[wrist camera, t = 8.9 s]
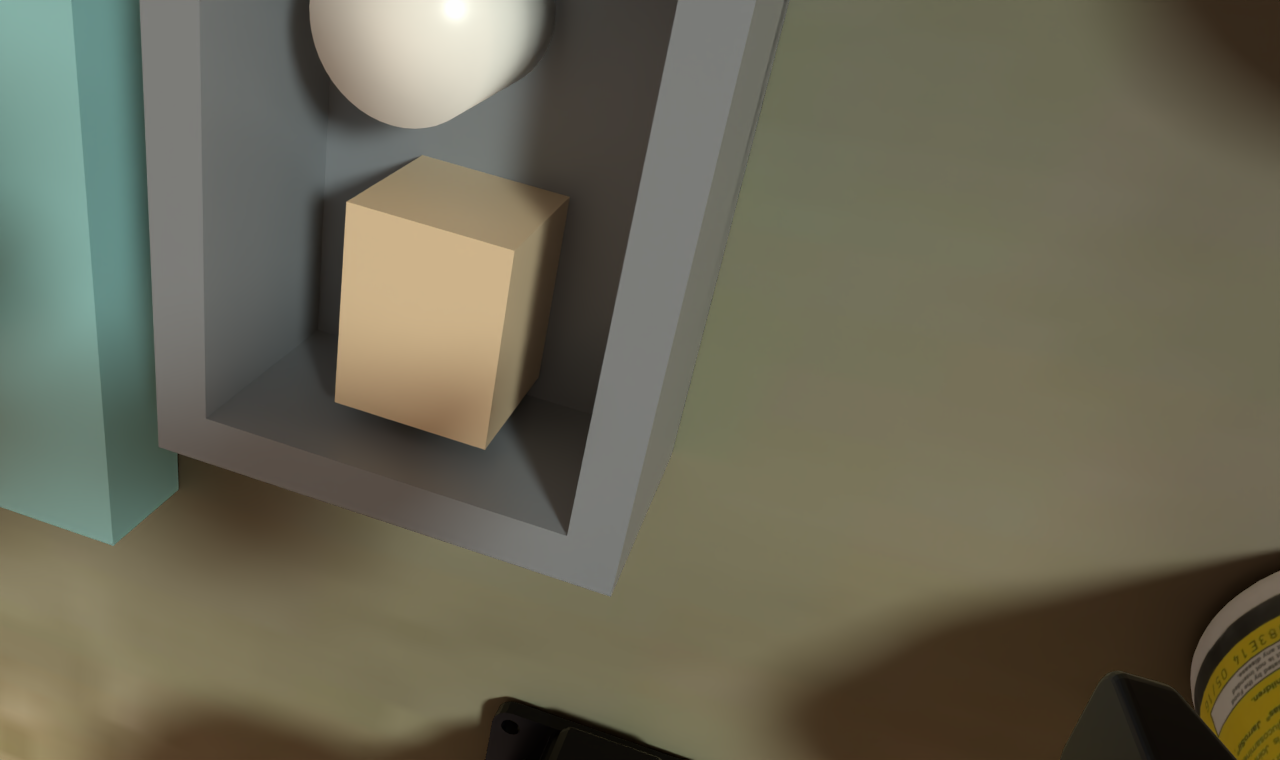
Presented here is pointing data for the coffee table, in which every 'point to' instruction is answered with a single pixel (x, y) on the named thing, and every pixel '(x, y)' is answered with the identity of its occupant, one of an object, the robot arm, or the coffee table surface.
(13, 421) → the lid
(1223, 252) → the coffee table surface
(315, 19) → the storage box
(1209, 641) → the pill bottle
